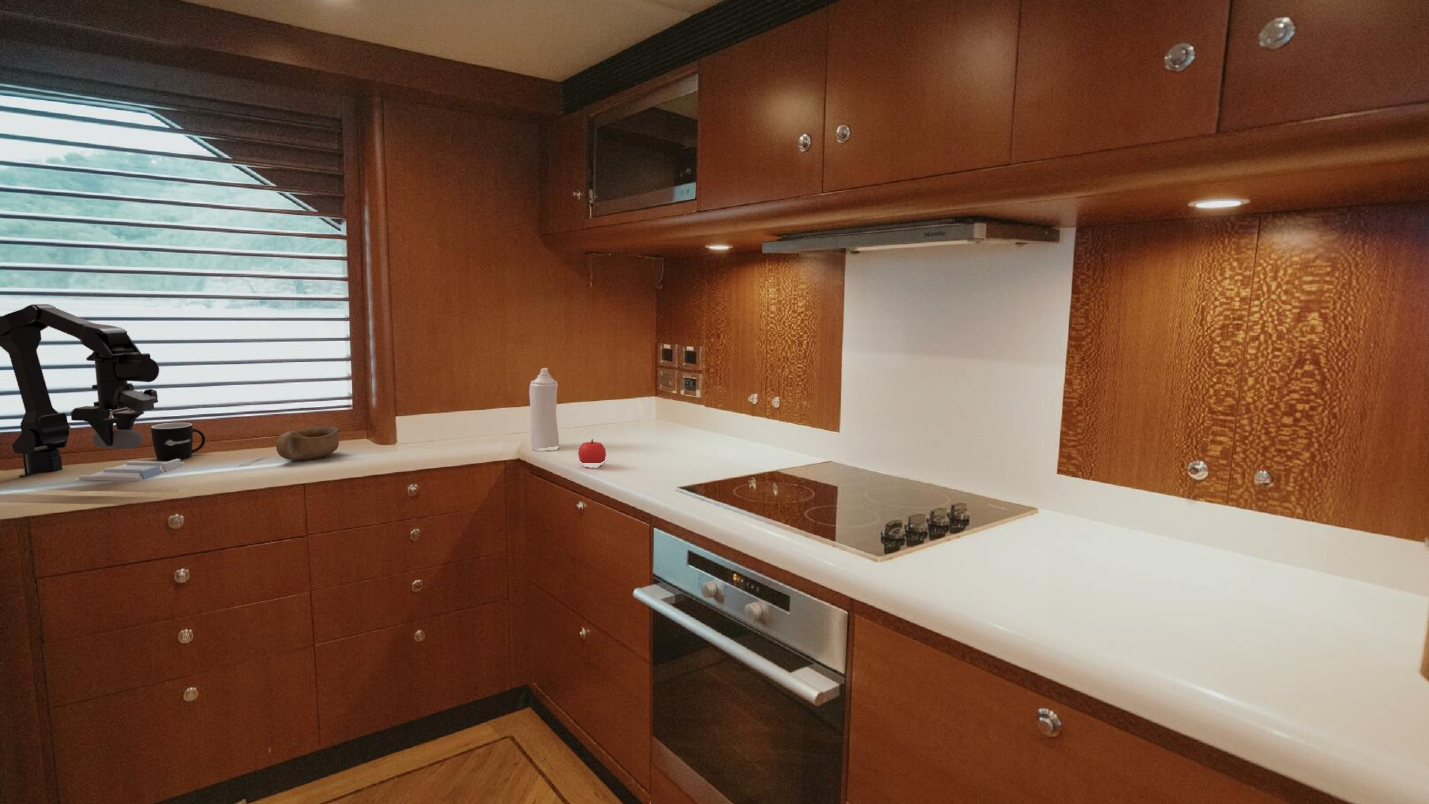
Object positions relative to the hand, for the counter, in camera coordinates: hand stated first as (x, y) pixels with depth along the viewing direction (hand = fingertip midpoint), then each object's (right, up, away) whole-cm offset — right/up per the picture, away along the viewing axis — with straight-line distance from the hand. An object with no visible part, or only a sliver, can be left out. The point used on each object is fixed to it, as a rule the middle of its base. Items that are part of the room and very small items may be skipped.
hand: (117, 443), depth 178 cm
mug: (0, -6, +22) cm, 23 cm away
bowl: (+30, -6, +29) cm, 42 cm away
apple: (+110, -8, +31) cm, 115 cm away
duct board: (0, -9, +5) cm, 10 cm away
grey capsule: (0, -1, 0) cm, 1 cm away
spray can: (+91, -4, +54) cm, 106 cm away
